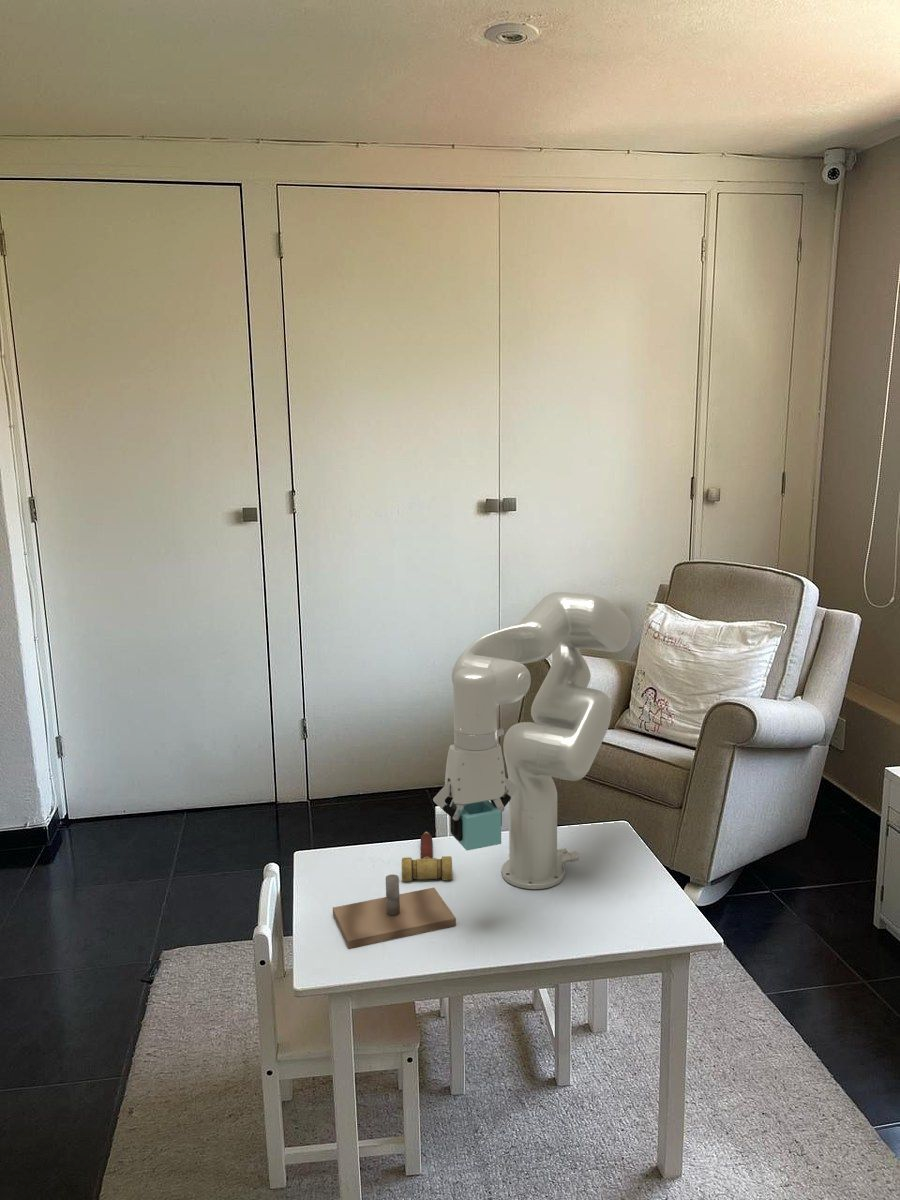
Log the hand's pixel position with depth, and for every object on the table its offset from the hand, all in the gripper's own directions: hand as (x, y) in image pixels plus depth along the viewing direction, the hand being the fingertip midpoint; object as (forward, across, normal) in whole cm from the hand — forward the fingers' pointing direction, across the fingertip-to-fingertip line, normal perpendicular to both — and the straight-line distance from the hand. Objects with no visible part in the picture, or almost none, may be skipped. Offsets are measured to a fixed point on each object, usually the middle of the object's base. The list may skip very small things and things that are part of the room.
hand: (476, 833), depth 165 cm
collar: (+1, 0, 0) cm, 1 cm away
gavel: (+18, -1, -28) cm, 34 cm away
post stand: (+18, +13, -8) cm, 24 cm away
